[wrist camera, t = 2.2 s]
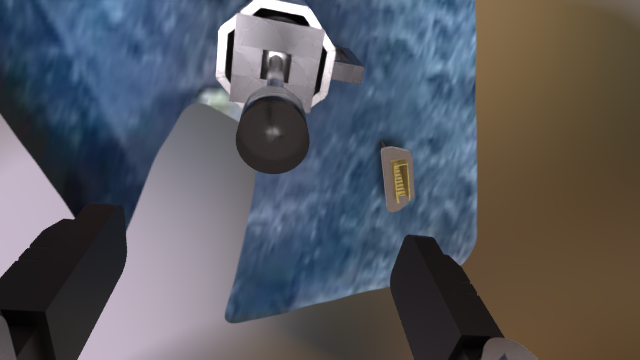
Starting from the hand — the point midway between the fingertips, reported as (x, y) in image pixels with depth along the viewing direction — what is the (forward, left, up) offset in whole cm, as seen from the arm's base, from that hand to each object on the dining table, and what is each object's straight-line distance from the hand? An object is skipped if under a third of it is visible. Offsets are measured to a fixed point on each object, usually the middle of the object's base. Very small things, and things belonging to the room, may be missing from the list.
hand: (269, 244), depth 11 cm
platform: (+14, +18, -39) cm, 45 cm away
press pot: (0, +2, -38) cm, 38 cm away
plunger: (0, 0, -26) cm, 26 cm away
